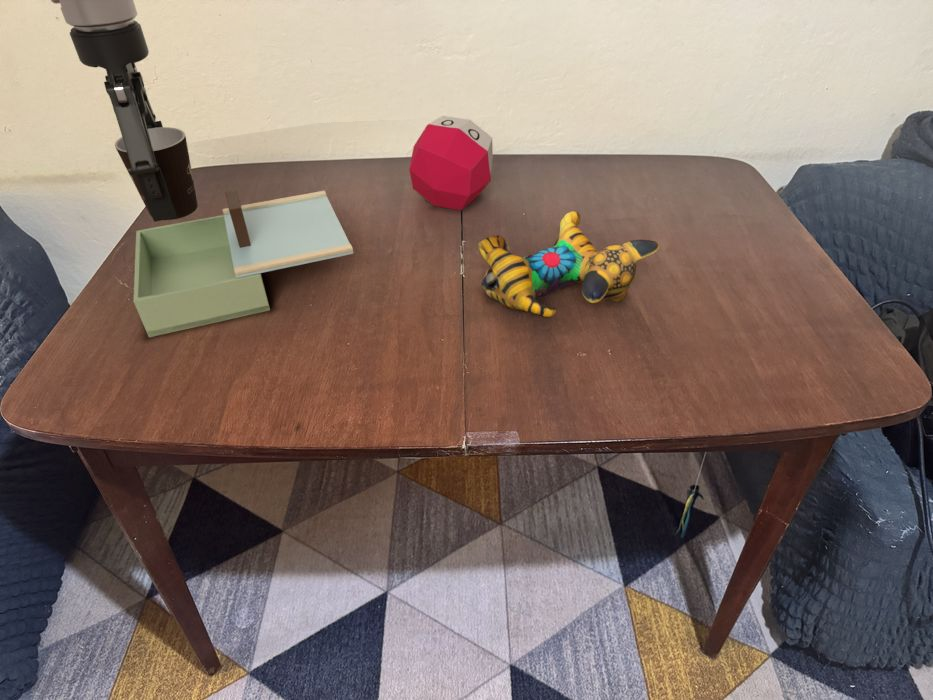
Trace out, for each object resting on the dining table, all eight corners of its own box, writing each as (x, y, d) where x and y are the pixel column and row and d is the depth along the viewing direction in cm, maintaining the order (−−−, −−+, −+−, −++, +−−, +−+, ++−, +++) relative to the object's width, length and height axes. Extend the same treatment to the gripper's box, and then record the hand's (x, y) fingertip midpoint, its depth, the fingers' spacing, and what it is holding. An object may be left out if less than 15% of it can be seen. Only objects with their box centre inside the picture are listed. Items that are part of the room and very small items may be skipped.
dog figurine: (480, 313, 96) (561, 367, 84) (460, 246, 88) (546, 294, 76) (576, 248, 102) (665, 289, 90) (566, 179, 94) (661, 214, 82)
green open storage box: (148, 337, 87) (133, 301, 83) (149, 264, 101) (136, 230, 98) (270, 310, 91) (260, 274, 87) (253, 243, 106) (244, 210, 102)
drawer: (236, 278, 86) (223, 234, 82) (223, 214, 101) (212, 174, 97) (353, 253, 91) (347, 211, 86) (325, 196, 105) (318, 157, 101)
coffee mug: (156, 195, 93) (132, 127, 87) (214, 195, 93) (195, 127, 86) (120, 235, 84) (90, 162, 78) (184, 235, 84) (159, 162, 78)
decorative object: (398, 136, 102) (437, 87, 110) (391, 202, 115) (426, 154, 123) (483, 174, 101) (515, 122, 109) (466, 237, 114) (496, 185, 122)
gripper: (76, 6, 81) (136, 168, 94) (55, 53, 63) (132, 245, 77) (140, 0, 83) (189, 159, 96) (137, 44, 65) (198, 232, 79)
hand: (164, 197), depth 86 cm, fingers closed on coffee mug, 12 cm apart
